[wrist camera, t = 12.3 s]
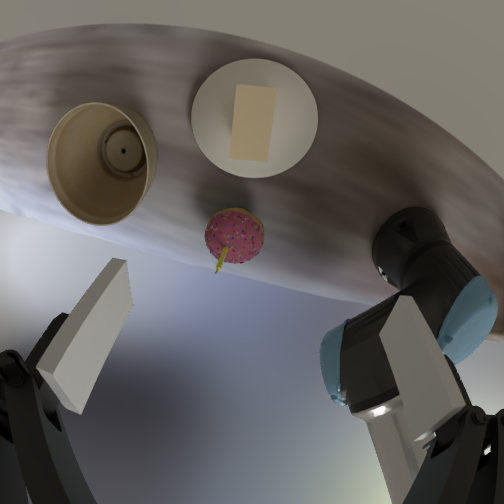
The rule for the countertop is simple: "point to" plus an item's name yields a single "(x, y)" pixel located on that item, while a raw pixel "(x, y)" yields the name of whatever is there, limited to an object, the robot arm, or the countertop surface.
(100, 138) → the planter bowl
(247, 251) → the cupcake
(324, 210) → the countertop surface
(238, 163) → the lid
